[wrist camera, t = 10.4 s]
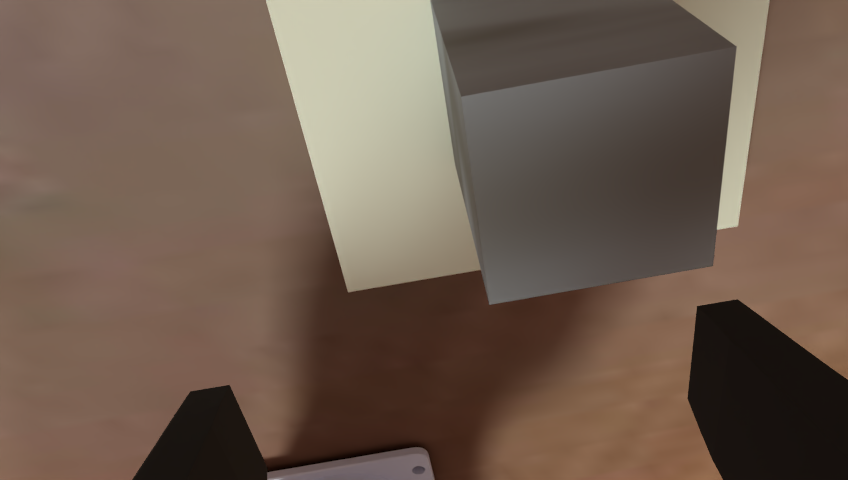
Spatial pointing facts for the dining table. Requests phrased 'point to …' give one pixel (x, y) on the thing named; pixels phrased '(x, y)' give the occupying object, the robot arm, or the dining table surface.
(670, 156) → the slate block
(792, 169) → the dining table surface
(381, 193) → the cream square slab
